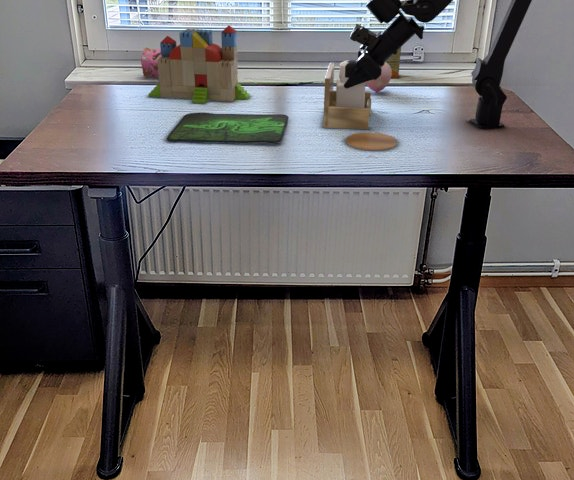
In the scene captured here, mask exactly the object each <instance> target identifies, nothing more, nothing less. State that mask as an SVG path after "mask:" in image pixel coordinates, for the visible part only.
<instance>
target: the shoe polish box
mask: <svg viewBox="0 0 574 480" xmlns="http://www.w3.org/2000/svg"><path fill="white" fill-rule="evenodd" d="M401 53H402V47H401V48H400V49H398V52H397V53H396V54H395V55H394V54H393V55H392V56H391V57H390V58H389V59H388V60H387V61H386V63H388V64H389V66H390V67H391V70H392V76H391V79H399V74H400V64H401V62H400V61H401V55H402V54H401Z"/></svg>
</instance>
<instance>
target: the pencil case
mask: <svg viewBox="0 0 574 480" xmlns="http://www.w3.org/2000/svg"><path fill="white" fill-rule="evenodd" d="M160 57H162V56H161V48H159V49H158V48H152V49H151V48H148V47H144V48H143V50H142V52H141V57H140V64H141V70H142V75H143V77H145V78H153V79H159V74H158V62H157V59H158V58H160Z"/></svg>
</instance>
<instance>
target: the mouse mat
mask: <svg viewBox="0 0 574 480" xmlns="http://www.w3.org/2000/svg"><path fill="white" fill-rule="evenodd" d="M288 120H289V116H288V115H287V114H283V113H282V114H281V113H280V114H279V113H277V114H276V113H275V114H269V113H268V114H264V113H263V114H258V113H257V114H253V113H252V114H251V113H212V112H211V113H210V112H190V113H187V114H185V115H184V116H183V117H182V118H181V119H180V120H179V122H178V123H177V124H176V125H175V127H173V129H172V130H171V132H170V133H169V134H168V135H167V137H166V140H167V141H169V142H191V143H193V142H194V143H223V144H224V143H225V144H226V143H229V144H230V143H234V144H236V143H238V144H252V143H253V144H254V143H260V144H261V143H263V144H264V143H266V144H277V143H278V144H279V143H280V142H282V140H283V137H284V134H285V130H286V126H287V125H288Z"/></svg>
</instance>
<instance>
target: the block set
mask: <svg viewBox="0 0 574 480" xmlns="http://www.w3.org/2000/svg"><path fill="white" fill-rule="evenodd" d="M220 34H221V35H220V36H221V45H219V44H217V43H213V29H203V28H202V29H199V28H196V29H195V28H186V29H184V30H181V31H180V32H179V44H178V45H177V41H176V40H175V39H173V38H172V37H170V36H169V35H166V36H165V37H164V38H163V39H162V40H161V41H160V43H159V47H160V48H159V49H161V56H162V57H160V58H158V59H157V62H158V74H159V78H158V83H157V84H156V86H154V87H153V89H152V90H150V92H149V93H148V97H150V98H167V99H181V100H191V101H192V103H193V104H206V103H207V102H208V101H211V102H212V101H214V102H228V103H232V102H234V101H235V100H248V99H250V97H251V93H248V90H247V89H245V87H244V86H242V84H241V83H239V71H238V70H239V67H238V65H239V64H238V32H237V30H236V29H235V28H233V26H231V25H227V26H226V27H225V28H224V29H223V30H222V31H221V33H220Z"/></svg>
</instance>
